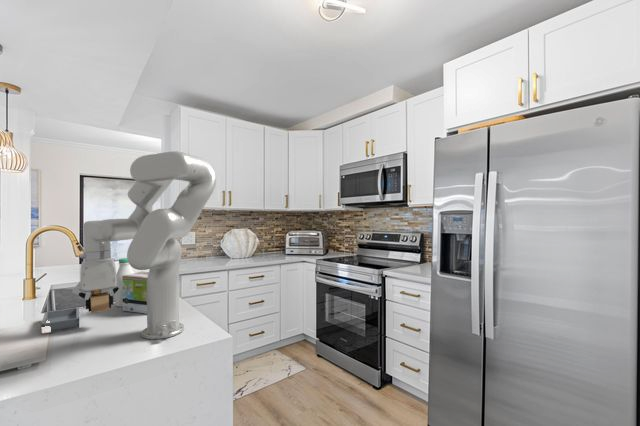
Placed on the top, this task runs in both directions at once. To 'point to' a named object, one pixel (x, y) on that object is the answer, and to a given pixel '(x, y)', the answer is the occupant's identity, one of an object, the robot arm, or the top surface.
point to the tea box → (135, 292)
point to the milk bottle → (122, 271)
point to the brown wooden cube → (99, 302)
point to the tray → (61, 319)
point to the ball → (96, 292)
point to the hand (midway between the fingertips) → (99, 308)
